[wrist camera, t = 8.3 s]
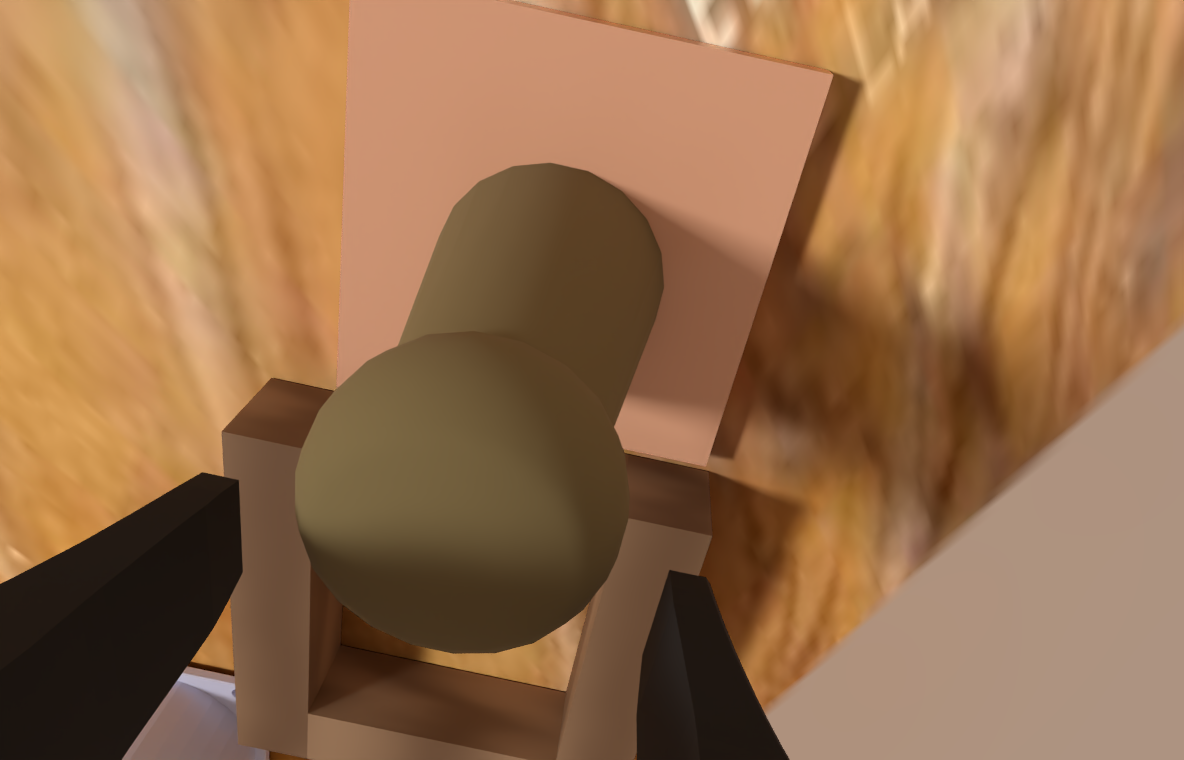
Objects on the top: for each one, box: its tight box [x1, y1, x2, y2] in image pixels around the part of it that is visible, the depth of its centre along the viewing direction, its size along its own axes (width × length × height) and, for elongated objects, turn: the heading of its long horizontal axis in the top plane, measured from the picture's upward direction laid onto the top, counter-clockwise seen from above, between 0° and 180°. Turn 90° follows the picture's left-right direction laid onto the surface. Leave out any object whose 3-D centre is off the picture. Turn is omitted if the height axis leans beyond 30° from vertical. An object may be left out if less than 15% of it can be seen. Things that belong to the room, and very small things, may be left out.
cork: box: [295, 163, 664, 653], centre depth 16 cm, size 6×6×11 cm
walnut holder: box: [222, 378, 712, 760], centre depth 26 cm, size 14×14×3 cm
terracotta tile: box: [337, 0, 833, 466], centre depth 21 cm, size 11×11×1 cm
